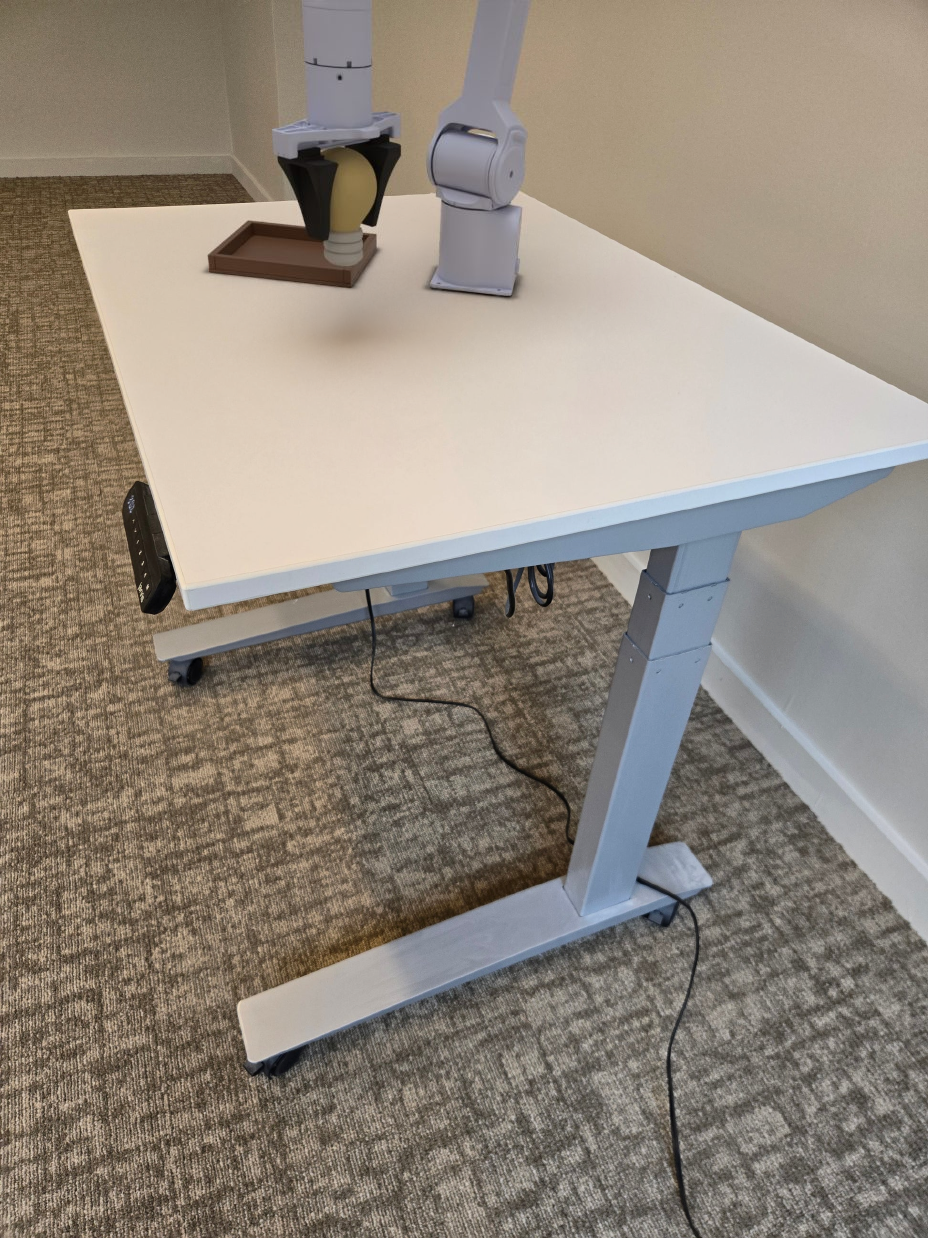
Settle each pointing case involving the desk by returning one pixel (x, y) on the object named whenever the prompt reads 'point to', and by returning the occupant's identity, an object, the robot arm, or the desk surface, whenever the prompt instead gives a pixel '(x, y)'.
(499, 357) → the desk surface
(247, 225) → the tray
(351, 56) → the robot arm
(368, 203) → the light bulb
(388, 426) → the desk surface
